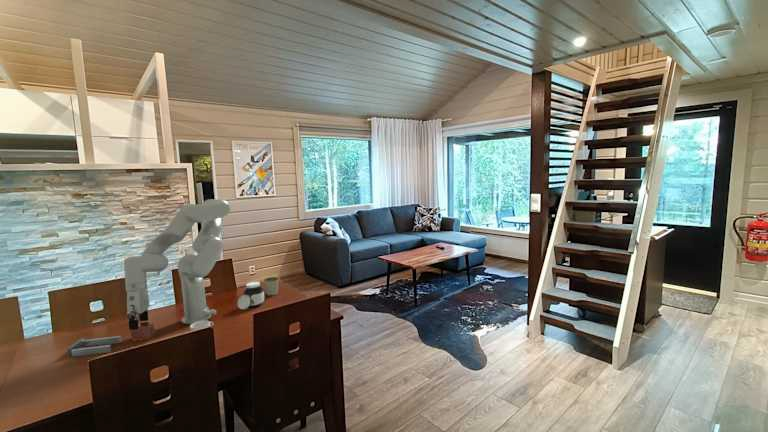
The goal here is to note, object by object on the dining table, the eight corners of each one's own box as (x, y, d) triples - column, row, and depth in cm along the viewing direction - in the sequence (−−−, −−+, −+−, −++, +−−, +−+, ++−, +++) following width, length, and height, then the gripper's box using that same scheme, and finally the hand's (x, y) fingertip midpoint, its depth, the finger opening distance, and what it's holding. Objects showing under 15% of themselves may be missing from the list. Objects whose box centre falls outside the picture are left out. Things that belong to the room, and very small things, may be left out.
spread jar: (266, 301, 194) (264, 281, 192) (259, 309, 182) (258, 287, 181) (243, 302, 193) (242, 281, 192) (236, 310, 182) (234, 288, 180)
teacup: (198, 341, 149) (197, 329, 148) (187, 338, 152) (185, 326, 152) (219, 331, 158) (218, 320, 157) (207, 328, 161) (206, 317, 161)
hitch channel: (121, 341, 151) (120, 333, 151) (109, 352, 142) (108, 343, 142) (83, 346, 148) (81, 338, 148) (68, 357, 139) (67, 348, 139)
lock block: (155, 334, 158) (153, 321, 157) (150, 339, 153) (148, 325, 152) (137, 336, 156) (135, 323, 155) (132, 341, 151) (130, 328, 151)
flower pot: (260, 296, 202) (259, 281, 201) (268, 290, 212) (267, 276, 210) (275, 296, 201) (274, 282, 200) (283, 291, 210) (282, 277, 209)
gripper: (137, 290, 144) (140, 332, 145) (154, 279, 161) (156, 317, 162) (116, 292, 142) (119, 334, 144) (135, 281, 159) (138, 318, 160)
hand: (139, 324), depth 153 cm, fingers open, 9 cm apart
